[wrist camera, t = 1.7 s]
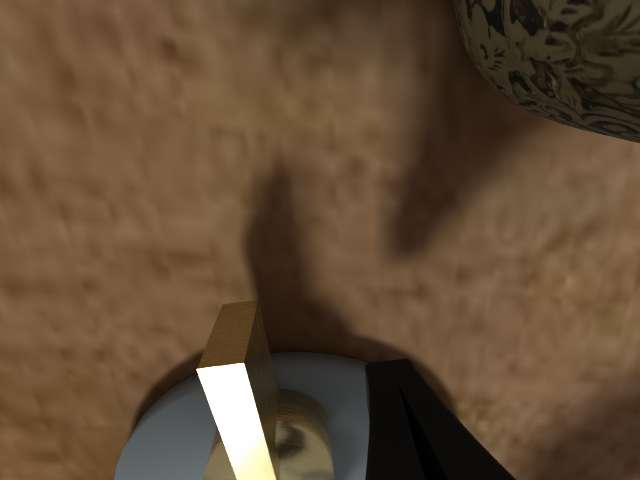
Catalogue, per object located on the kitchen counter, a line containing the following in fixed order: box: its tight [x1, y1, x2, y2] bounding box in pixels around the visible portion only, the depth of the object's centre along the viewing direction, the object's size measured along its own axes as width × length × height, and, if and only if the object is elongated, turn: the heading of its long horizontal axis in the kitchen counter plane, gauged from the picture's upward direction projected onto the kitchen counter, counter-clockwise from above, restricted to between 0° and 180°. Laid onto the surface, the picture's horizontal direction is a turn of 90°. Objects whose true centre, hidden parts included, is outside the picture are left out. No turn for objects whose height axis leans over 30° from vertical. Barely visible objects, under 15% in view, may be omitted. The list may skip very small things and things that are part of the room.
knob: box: [197, 300, 334, 480], centre depth 11 cm, size 9×5×3 cm, turn 6°
